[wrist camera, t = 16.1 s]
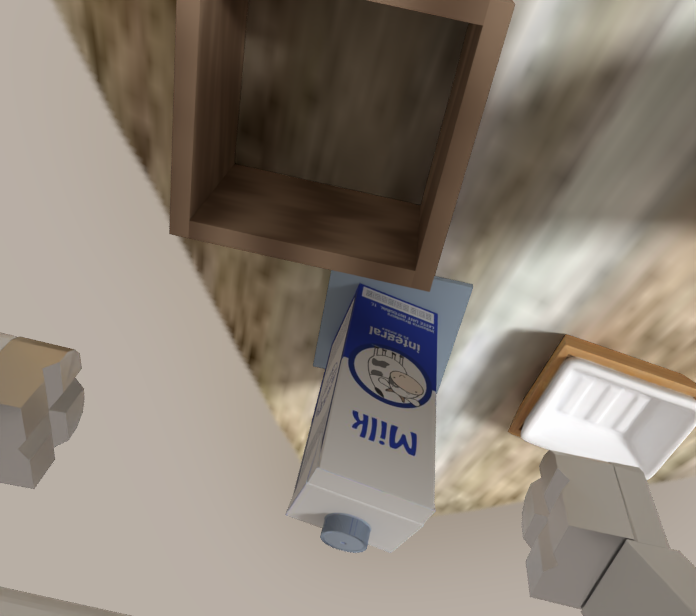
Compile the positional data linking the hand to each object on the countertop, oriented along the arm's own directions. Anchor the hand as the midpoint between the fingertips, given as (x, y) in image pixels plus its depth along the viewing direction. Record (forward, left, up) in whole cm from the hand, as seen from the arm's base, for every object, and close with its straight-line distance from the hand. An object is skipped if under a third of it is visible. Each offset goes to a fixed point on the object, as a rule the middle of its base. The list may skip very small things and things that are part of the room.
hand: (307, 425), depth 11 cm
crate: (+4, +4, -36) cm, 37 cm away
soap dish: (-22, +23, -37) cm, 49 cm away
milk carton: (-3, +22, -36) cm, 42 cm away
